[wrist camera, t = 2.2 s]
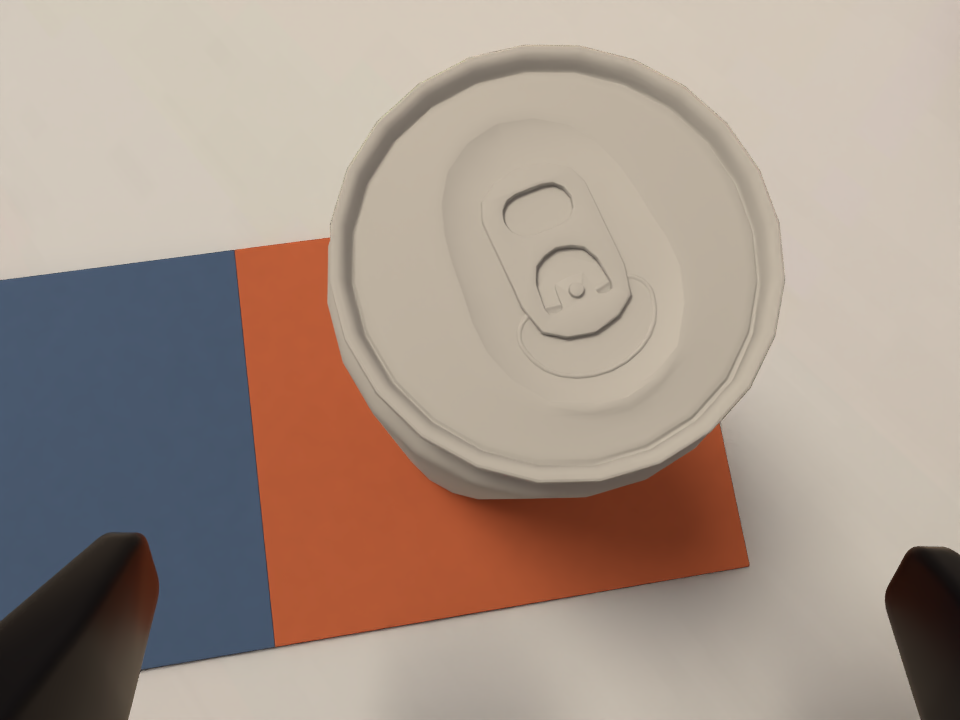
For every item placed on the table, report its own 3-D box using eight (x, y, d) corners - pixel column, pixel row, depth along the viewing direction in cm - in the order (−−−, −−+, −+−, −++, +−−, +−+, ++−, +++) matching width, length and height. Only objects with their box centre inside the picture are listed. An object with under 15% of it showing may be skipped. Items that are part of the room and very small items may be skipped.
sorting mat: (669, 195, 21) (670, 193, 20) (746, 565, 19) (750, 566, 19) (-238, 313, 19) (-245, 311, 19) (-242, 733, 17) (-251, 736, 17)
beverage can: (437, 531, 18) (429, 587, 7) (363, 355, 19) (240, 126, 7) (611, 453, 19) (886, 378, 7) (533, 285, 20) (669, -31, 8)
